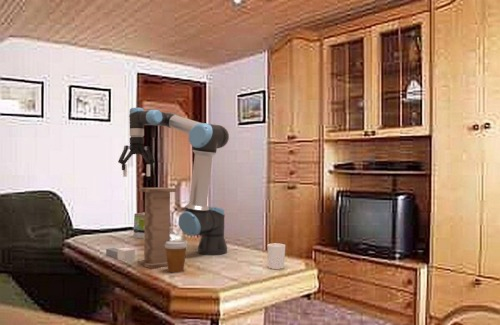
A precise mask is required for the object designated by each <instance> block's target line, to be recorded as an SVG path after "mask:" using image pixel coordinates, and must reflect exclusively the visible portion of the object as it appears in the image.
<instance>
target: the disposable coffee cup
mask: <svg viewBox="0 0 500 325" xmlns="http://www.w3.org/2000/svg"><path fill="white" fill-rule="evenodd" d="M165 248H166V256H167V264H168V267H167V271H168V272H170V273H181V272H184V268H185V259H186V252H187V248H188V242H187V241H186V240H170V241H167V242H166V244H165Z"/></svg>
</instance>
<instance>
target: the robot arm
mask: <svg viewBox="0 0 500 325" xmlns="http://www.w3.org/2000/svg"><path fill="white" fill-rule="evenodd" d="M128 117H129V145H124V146H123V150H122V153H121V155H120V156H119V158H118V161H117V162H118V164H120V165H121V171H122V175H123V177H124V178H126V177H128V164H127V162H128V161H129V160H130V159H131V157H132V156H133V155H140V156H141V157H142V158H143V159H144V161H145V162H146V163H147V164H146V177H151V171H152V165H153V164H155V163H156V162H155V159H154V157H153V155H152V154H153V153H152V152H151V150H150V149H151V148H150V146H149V145H147V146H145V137H144V136H145V126H159V127H166V128H169V129H173V130H175V131H179V132H182V133H185V134H188V142H189V143H190V145H191V147H192V148H191V151H192V152H193V154H194V159H193V160H194V161H193V167H192V176H191V182H190V183H191V184H190V191H189V192H190V193H189V200H188V203H187V204H185V208H184V212H181V214H180V215H179V217H178V224H179V228H180V230H181V231H182V233H183V234H185V235H186V236H190V237H191V236H192V237H193V236H198V235H200V240H199V242H198V246H197V253H198V254H201V255H206V256H207V255H209V256H210V255H211V256H212V255H213V256H215V255H224V254H227V253H228V245H227V242H226V238H225V215H226V214H225V210H224V208H223V207H216V206H214V207H213V206H208V205H207V204H208V198H209V187H210V180H211V172H212V163H213V157H214V156H215V155H216V154H217V151H218V149H222V148H224V147H225V146H226V145H227V144H228V142H229V139H230V136H229V135H230V134H229V132H228V130H227V128H226V127H225V126H222V125H218V124H212V123H208V122H207V123H205V122H204V123H203V122H200V121H196V120H193V119H189V118H185V117H183V116H180V115H177V114H175V113H172V112H163V111H160V110H158V109H150V110H144V108H143V107H131V108H129V115H128ZM128 150H130V151H128ZM145 152H146V153H145Z"/></svg>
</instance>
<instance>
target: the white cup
mask: <svg viewBox="0 0 500 325" xmlns="http://www.w3.org/2000/svg"><path fill="white" fill-rule="evenodd" d="M285 257H286V244H283V243H278V242H277V243H276V242H275V243H269V244H267V264H268V266H267V267H268V269H270V268H272V269H271V270H281V269H280V268H283V269H284V268H285V259H286V258H285Z"/></svg>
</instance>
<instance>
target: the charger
mask: <svg viewBox="0 0 500 325" xmlns="http://www.w3.org/2000/svg"><path fill="white" fill-rule="evenodd" d="M105 249H106V250H105V255H106V256H108V257H111V258H114V259H116V260H118V261H122V262H124V263H126V262H132V261H133V260H134V261H135V256H136V255H135V252H136V250H135V249H133V248H131V247H121V248H115V247H111V248H109V247H108V248H105ZM134 261H133V262H134Z"/></svg>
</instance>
